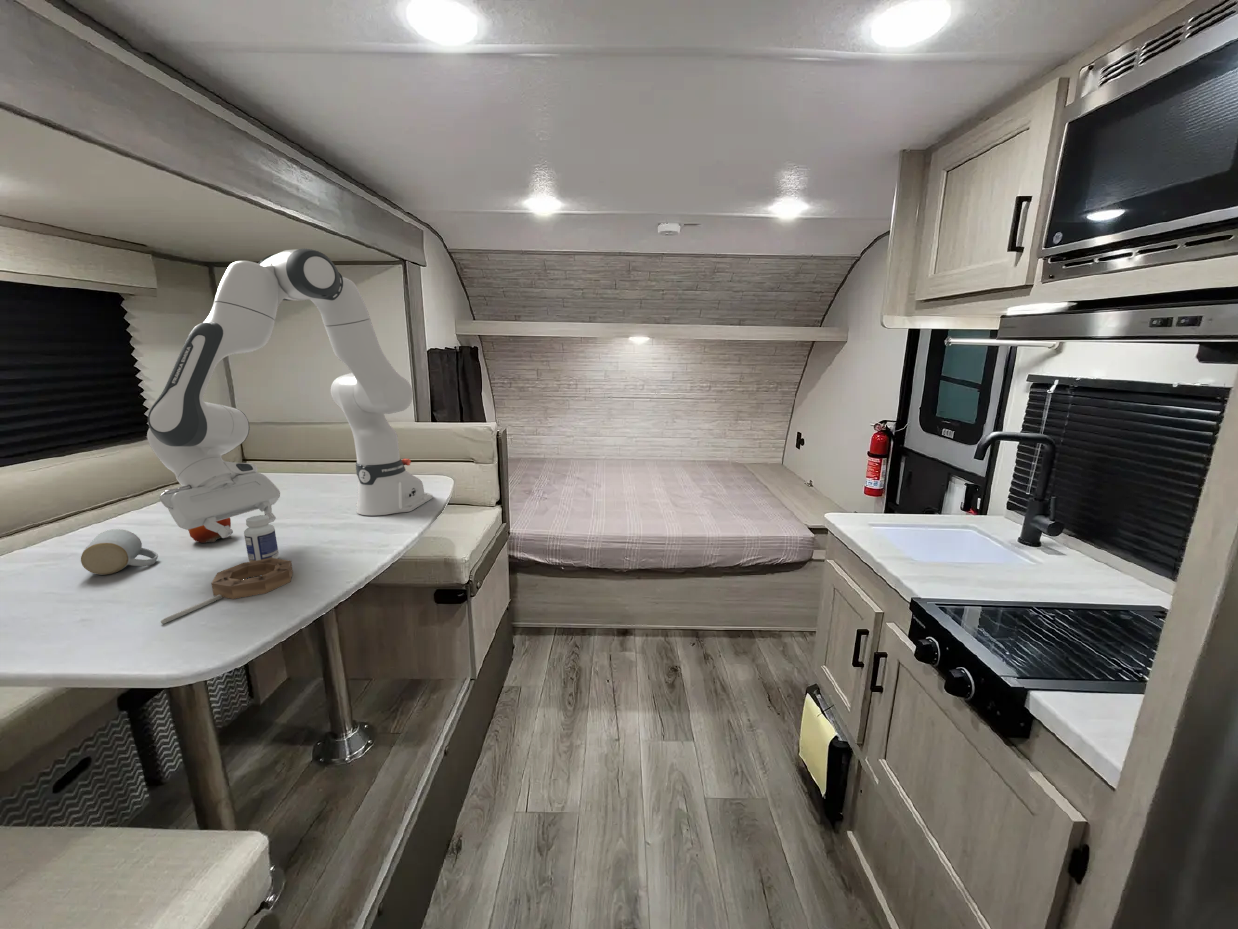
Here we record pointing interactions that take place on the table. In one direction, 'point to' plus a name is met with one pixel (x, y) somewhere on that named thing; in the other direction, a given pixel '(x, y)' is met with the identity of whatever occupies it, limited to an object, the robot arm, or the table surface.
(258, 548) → the pill bottle
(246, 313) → the robot arm
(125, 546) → the ceramic mug
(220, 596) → the grey rod
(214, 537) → the fruit
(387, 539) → the table surface
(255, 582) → the walnut ring
